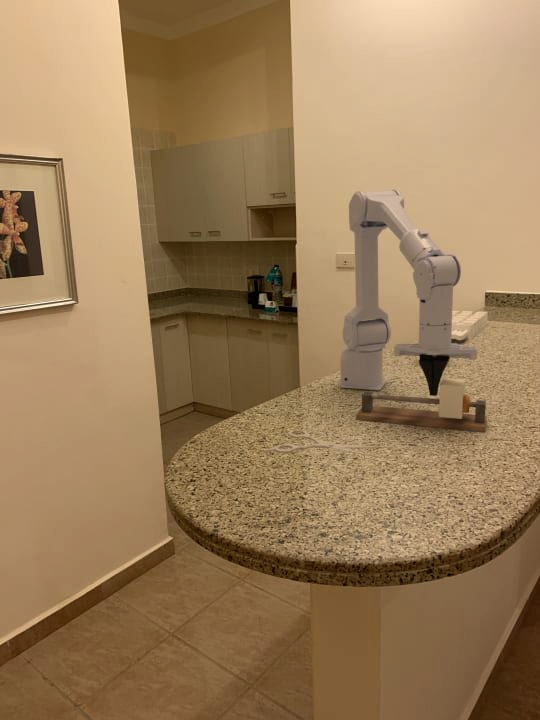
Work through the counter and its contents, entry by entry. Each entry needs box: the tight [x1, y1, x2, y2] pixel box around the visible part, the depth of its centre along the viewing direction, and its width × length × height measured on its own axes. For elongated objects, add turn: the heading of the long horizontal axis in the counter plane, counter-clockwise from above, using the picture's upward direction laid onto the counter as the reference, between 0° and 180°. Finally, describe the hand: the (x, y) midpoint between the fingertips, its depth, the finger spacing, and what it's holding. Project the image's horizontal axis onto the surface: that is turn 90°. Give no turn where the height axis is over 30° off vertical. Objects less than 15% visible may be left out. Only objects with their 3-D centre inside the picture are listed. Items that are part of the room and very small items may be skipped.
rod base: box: [355, 391, 488, 433], centre depth 103 cm, size 24×6×6 cm, turn 66°
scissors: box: [262, 429, 379, 458], centre depth 94 cm, size 11×1×20 cm
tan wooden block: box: [438, 377, 466, 419], centre depth 100 cm, size 4×4×6 cm
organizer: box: [451, 310, 489, 341], centre depth 180 cm, size 13×5×35 cm
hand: (433, 394), depth 102 cm, fingers closed
